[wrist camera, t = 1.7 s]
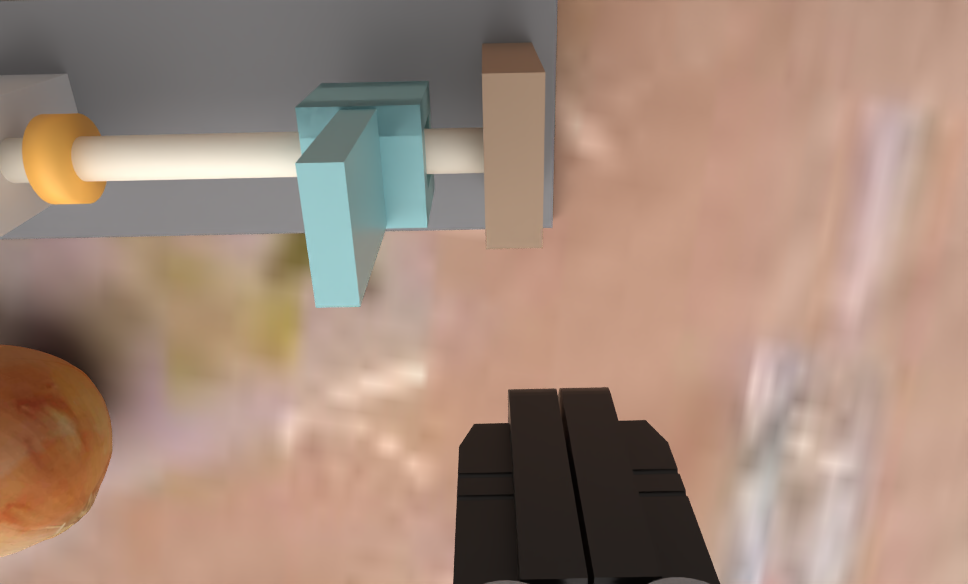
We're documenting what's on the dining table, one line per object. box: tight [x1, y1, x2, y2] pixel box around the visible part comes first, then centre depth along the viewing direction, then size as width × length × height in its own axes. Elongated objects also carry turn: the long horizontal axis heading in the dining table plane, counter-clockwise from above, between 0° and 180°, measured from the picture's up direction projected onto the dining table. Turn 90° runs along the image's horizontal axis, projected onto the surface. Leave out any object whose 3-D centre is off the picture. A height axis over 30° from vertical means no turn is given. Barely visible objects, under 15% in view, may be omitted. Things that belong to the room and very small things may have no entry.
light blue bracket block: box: [295, 81, 435, 308], centre depth 23 cm, size 4×4×10 cm
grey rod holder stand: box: [0, 0, 557, 249], centre depth 27 cm, size 26×10×8 cm, turn 91°
